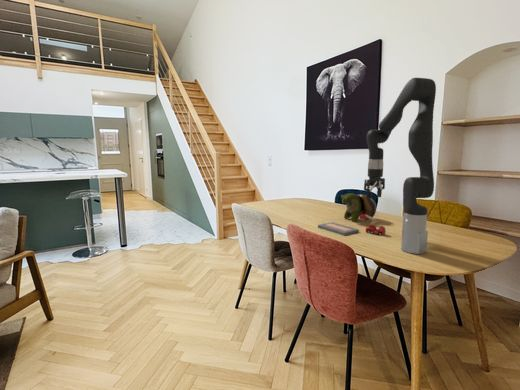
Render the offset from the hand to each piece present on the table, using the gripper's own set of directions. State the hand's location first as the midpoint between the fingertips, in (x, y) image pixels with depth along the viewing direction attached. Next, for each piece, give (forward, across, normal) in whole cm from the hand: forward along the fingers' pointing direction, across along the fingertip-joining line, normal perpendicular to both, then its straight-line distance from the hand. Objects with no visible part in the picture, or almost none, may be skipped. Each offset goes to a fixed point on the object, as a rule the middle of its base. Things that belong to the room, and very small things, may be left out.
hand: (374, 197), depth 153 cm
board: (+20, -11, +15) cm, 27 cm away
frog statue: (+20, +18, +25) cm, 37 cm away
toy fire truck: (+20, 0, 0) cm, 20 cm away
